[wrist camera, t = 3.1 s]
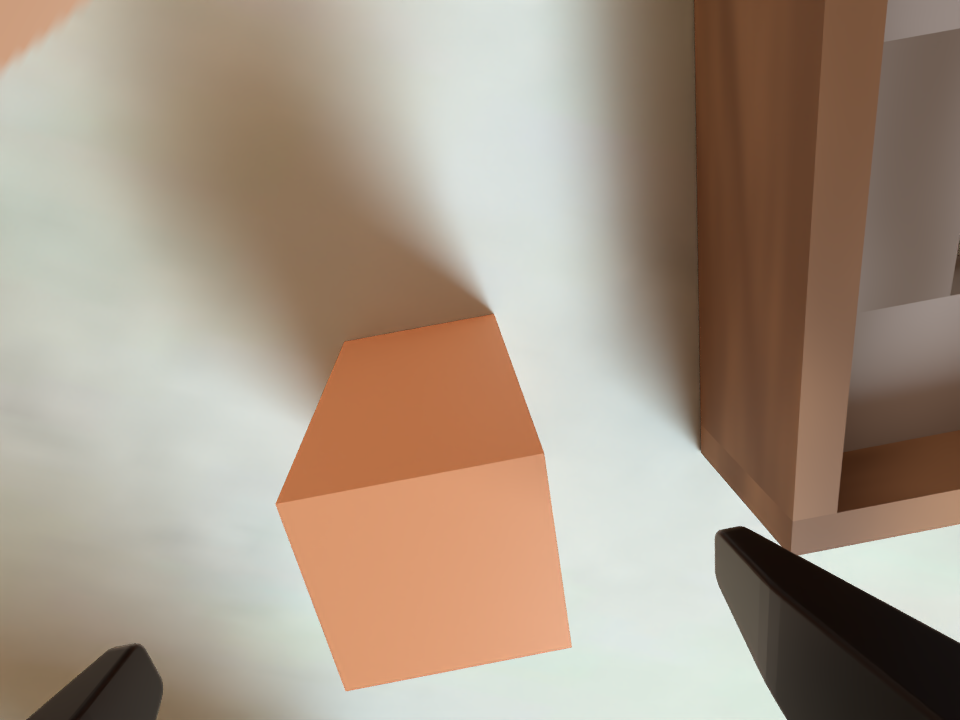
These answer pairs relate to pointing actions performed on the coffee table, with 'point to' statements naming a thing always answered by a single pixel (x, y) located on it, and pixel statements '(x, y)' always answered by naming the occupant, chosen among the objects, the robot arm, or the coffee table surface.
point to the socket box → (830, 263)
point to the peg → (425, 509)
